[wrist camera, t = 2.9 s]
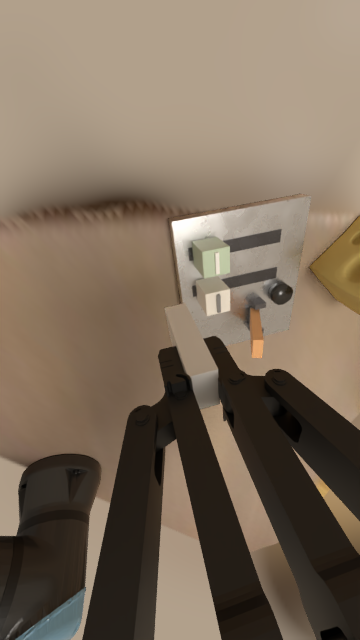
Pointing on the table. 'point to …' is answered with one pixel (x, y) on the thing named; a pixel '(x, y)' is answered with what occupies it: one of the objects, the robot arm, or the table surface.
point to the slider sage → (211, 257)
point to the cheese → (342, 268)
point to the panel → (245, 263)
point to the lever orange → (255, 333)
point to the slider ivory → (213, 295)
